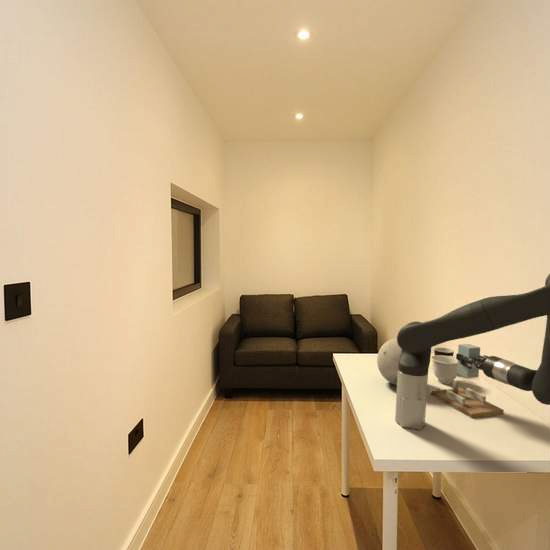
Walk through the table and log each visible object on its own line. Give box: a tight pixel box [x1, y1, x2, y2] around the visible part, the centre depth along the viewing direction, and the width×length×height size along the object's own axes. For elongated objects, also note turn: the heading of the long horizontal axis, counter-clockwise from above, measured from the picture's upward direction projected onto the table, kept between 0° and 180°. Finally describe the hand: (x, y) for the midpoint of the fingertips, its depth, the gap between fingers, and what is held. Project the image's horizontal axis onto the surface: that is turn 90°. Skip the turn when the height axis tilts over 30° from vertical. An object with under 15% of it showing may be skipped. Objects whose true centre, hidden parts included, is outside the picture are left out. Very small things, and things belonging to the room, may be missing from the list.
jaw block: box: [457, 343, 481, 379], centre depth 132 cm, size 5×5×11 cm
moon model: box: [376, 337, 402, 386], centre depth 149 cm, size 20×20×20 cm
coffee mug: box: [433, 347, 455, 357], centre depth 171 cm, size 12×9×10 cm
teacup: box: [430, 355, 458, 385], centre depth 156 cm, size 12×15×10 cm
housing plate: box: [430, 380, 505, 419], centre depth 133 cm, size 20×14×6 cm
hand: (463, 355), depth 134 cm, fingers closed on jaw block, 5 cm apart
